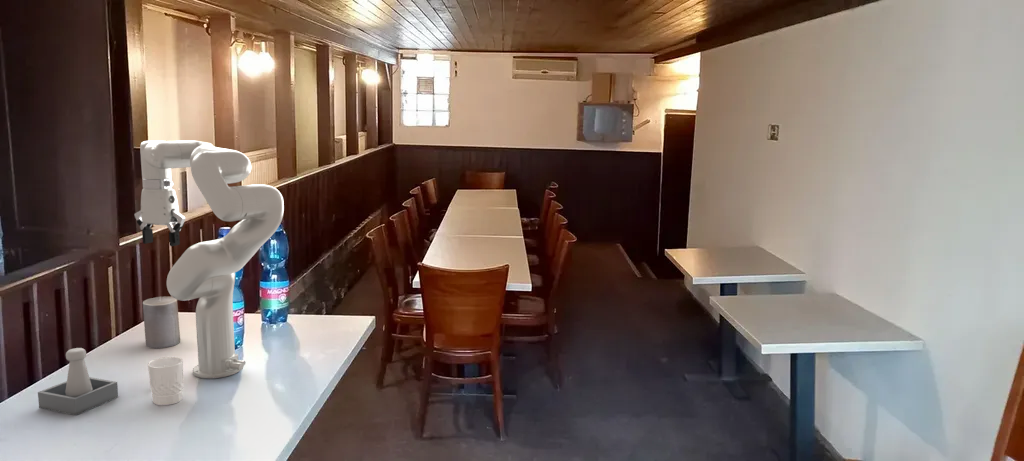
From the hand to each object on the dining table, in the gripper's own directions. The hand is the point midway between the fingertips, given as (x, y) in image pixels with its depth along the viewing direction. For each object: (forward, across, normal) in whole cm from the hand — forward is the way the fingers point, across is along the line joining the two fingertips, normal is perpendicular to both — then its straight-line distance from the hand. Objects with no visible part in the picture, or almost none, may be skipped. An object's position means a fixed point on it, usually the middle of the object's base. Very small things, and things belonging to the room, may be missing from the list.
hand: (161, 244), depth 212 cm
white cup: (+34, -25, +26) cm, 49 cm away
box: (+33, -6, +35) cm, 49 cm away
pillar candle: (+34, +10, -8) cm, 36 cm away
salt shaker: (+33, -6, +35) cm, 48 cm away
